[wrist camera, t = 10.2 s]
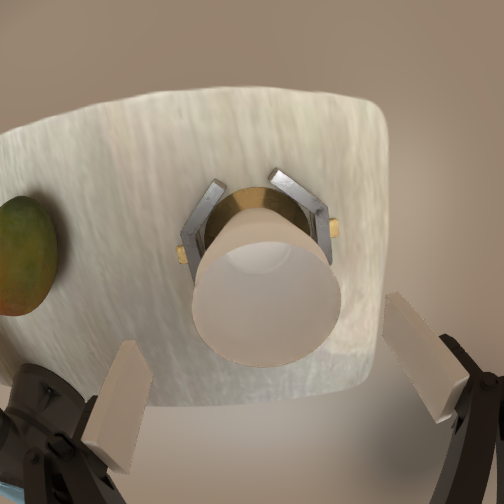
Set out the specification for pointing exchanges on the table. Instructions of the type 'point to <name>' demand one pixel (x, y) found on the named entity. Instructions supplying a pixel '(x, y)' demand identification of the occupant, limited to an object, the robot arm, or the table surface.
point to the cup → (264, 291)
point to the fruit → (25, 256)
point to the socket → (251, 199)
